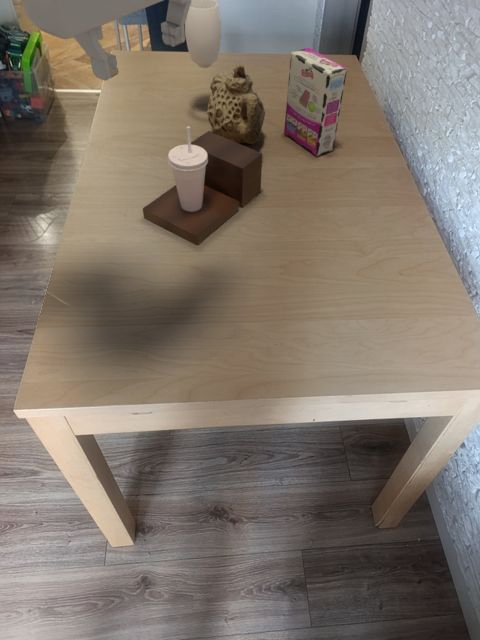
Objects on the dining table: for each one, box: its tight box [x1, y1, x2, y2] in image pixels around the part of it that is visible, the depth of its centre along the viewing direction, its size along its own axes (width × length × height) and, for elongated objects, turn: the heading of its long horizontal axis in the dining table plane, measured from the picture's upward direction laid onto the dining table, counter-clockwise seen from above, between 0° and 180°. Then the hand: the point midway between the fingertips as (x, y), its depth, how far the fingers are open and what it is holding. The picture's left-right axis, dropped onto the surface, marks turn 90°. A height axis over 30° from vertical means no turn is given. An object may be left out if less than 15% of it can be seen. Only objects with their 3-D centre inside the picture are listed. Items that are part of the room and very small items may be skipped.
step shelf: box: [142, 130, 263, 246], centre depth 88 cm, size 12×19×8 cm, turn 146°
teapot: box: [206, 63, 266, 145], centre depth 99 cm, size 21×12×15 cm, turn 23°
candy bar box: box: [283, 47, 348, 157], centre depth 100 cm, size 11×5×16 cm, turn 37°
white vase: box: [184, 0, 222, 69], centre depth 104 cm, size 7×7×21 cm
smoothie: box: [167, 125, 208, 212], centre depth 83 cm, size 6×6×14 cm
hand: (142, 59), depth 48 cm, fingers open, 8 cm apart
